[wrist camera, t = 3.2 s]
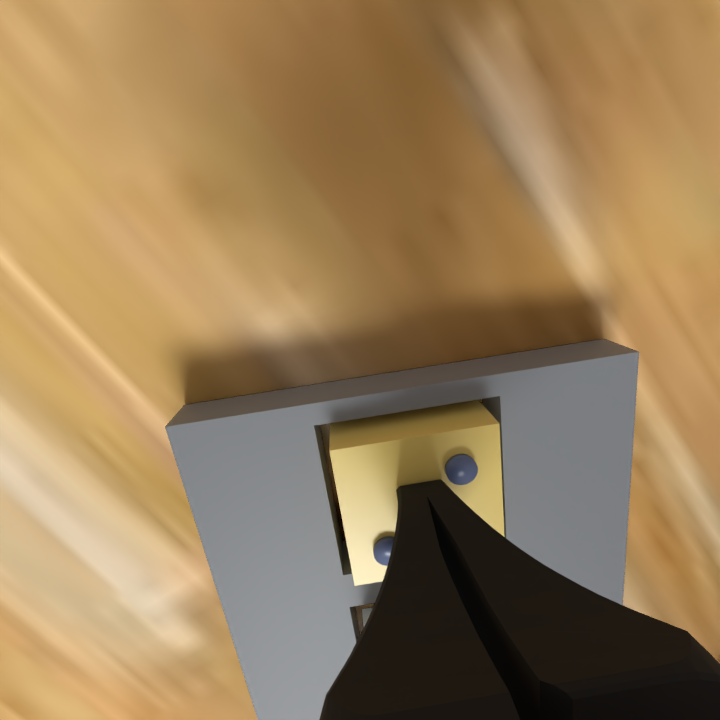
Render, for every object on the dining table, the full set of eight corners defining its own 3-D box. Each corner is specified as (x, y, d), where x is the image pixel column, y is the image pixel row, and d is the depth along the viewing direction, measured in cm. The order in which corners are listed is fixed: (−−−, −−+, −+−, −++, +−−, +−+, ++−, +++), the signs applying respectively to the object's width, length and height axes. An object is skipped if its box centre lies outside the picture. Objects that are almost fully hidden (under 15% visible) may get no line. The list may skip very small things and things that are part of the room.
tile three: (475, 396, 13) (502, 426, 11) (482, 518, 15) (508, 565, 13) (329, 419, 13) (329, 454, 11) (351, 540, 15) (355, 591, 12)
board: (604, 338, 13) (639, 351, 12) (588, 754, 20) (610, 797, 18) (184, 404, 13) (165, 426, 12) (302, 805, 19) (300, 853, 18)
